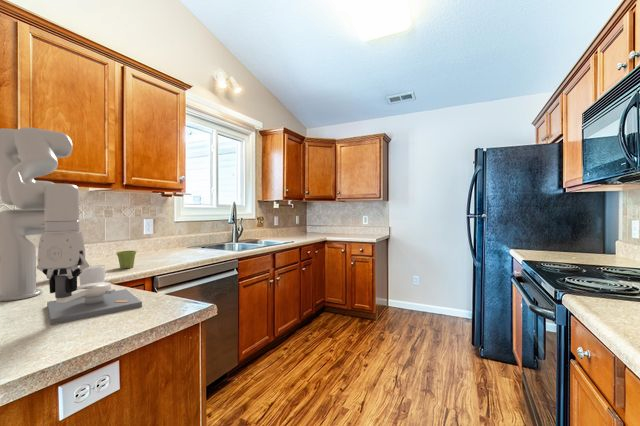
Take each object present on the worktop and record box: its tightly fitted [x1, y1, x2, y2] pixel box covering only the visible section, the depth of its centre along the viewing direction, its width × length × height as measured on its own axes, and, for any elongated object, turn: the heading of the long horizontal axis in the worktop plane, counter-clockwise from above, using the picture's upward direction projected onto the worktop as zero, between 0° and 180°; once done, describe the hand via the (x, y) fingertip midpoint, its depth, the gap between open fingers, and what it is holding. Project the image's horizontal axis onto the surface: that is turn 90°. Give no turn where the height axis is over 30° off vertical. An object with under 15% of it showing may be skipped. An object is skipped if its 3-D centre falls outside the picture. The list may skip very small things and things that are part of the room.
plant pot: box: [115, 250, 137, 270], centre depth 163 cm, size 9×9×9 cm
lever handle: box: [54, 274, 116, 303], centre depth 94 cm, size 20×10×8 cm, turn 1°
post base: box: [46, 288, 143, 326], centre depth 98 cm, size 22×22×4 cm
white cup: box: [78, 264, 106, 286], centre depth 114 cm, size 8×8×10 cm
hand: (63, 291), depth 86 cm, fingers closed on lever handle, 3 cm apart
